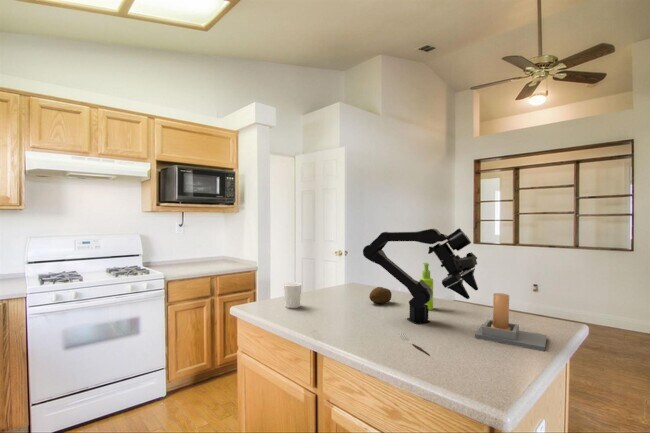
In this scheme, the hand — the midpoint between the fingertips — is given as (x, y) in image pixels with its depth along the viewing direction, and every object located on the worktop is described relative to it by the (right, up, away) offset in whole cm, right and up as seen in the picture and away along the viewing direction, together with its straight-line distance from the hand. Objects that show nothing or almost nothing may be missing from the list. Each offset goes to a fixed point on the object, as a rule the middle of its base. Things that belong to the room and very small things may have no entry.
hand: (473, 294), depth 126 cm
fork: (-26, -13, -17) cm, 33 cm away
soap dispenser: (-9, -13, +28) cm, 32 cm away
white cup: (-69, -12, +30) cm, 76 cm away
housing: (+9, -13, -9) cm, 18 cm away
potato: (-28, -13, +36) cm, 47 cm away
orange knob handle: (+6, -11, -8) cm, 15 cm away
